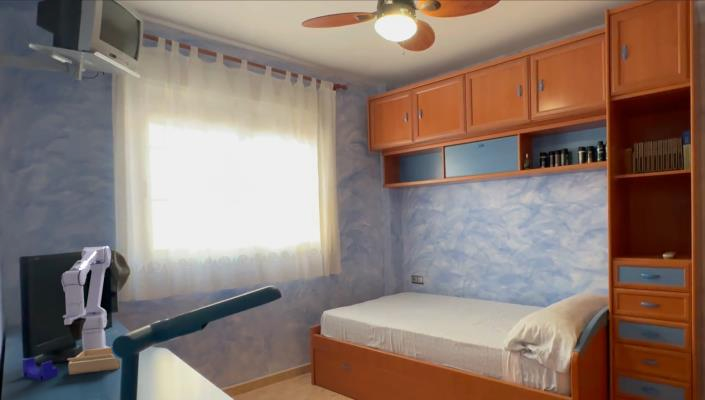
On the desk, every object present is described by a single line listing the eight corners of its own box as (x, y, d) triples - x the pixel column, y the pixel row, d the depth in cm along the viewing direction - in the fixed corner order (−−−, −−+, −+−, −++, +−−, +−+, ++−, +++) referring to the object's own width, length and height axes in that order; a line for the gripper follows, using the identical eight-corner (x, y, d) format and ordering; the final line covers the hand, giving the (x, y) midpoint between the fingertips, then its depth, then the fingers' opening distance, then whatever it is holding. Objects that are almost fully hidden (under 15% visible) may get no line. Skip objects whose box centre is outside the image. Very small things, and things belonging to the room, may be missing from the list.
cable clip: (57, 376, 153) (56, 359, 153) (44, 381, 149) (43, 364, 149) (37, 372, 158) (36, 355, 158) (23, 377, 154) (22, 360, 154)
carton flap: (67, 358, 150) (67, 359, 150) (110, 353, 153) (110, 354, 153) (72, 360, 154) (72, 362, 153) (114, 355, 157) (114, 357, 156)
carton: (84, 360, 167) (83, 350, 167) (130, 354, 171) (130, 344, 171) (68, 374, 153) (67, 363, 153) (119, 368, 157) (119, 357, 157)
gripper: (71, 299, 167) (73, 334, 167) (53, 308, 153) (55, 346, 153) (91, 297, 168) (93, 332, 168) (75, 306, 154) (77, 343, 154)
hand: (76, 338), depth 161 cm, fingers closed
